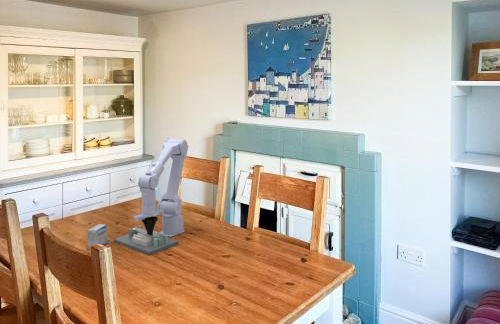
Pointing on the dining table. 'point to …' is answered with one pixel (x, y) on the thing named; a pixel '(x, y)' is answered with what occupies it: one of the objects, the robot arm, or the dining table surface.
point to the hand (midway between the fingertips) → (149, 233)
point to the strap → (147, 233)
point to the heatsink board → (142, 248)
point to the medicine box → (97, 235)
